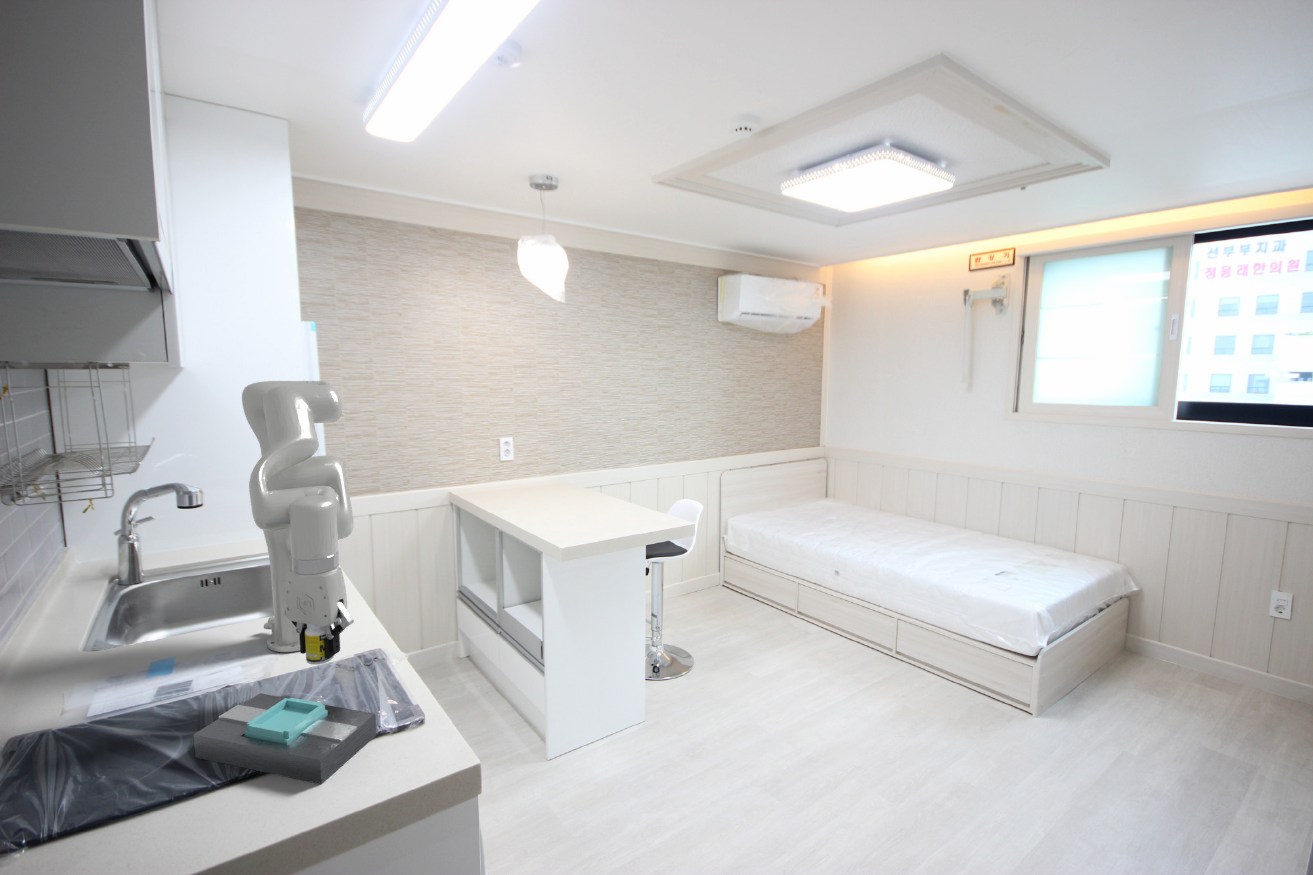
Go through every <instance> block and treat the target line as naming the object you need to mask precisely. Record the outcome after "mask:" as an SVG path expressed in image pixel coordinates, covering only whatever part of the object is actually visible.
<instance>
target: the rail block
mask: <svg viewBox="0 0 1313 875" xmlns="http://www.w3.org/2000/svg"><path fill="white" fill-rule="evenodd" d="M285 698H287V699H290V697H289V698H288V697H282V696H277V695H273V694H265V693H259V694H257V695H255V696H254V697H252V698H250V699H249V700H247V701H245V702H243V703H242V704H237V705H235V706H234V707H231V708H230V709H229V710H227V711H225V712H223V713H222V714H221V715H219V716H218V718H217V719H216V720H215V721H212V722H211V723H210V724H208V725H207V726H205V727H203V728H202V729H200V730H198V731H196V732H195V733H193V745H194V754H195V758H196V759H201V760H206V761H211V762H215V763H219V764H225V765H230V766H233V767H239V768H244V769H247V770H248V769H249V770H253V771H258V772H263V773H268V774H272V775H276V776H280V777H286V778H291V779H294V780H295V779H296V780H300V781H304V782H305V781H306V782H309V783H315V784H320V785H322V784H324V783H325V782H326V781H327V780H328V779H329V778H330V777H331V776H333V775H334V774H335V773H336V772H337V771H339V769H341V768H342V767H343V766H344V765H345V764H346V763H347V762H349V761H350V760H351V759H352V758H353V757H355V755H357V753H359V752H360V751H361V750H362V749H363V748H364V747H366V745H367V744H369V743H370V742H371V741H372V740H373V739H374V738H375V737H377V719H376V713H373V712H369V711H363V710H357V709H351V708H346V707H340V706H334V705H328V704H323V705H325V710H327V711H328V715H327V716H326V717H324V718H323V719H322V720H319V719H318V720H317V721H316V722H314V723H313V724H312V725H310V726H309V727H308V728H306V729H305V730H304V731H302V732H301V734H302V735H300V736H299V737H298V738H296V739H295V740H294V741H292V742H291V743H290V744H288V745H282V744H277V743H272V742H267V741H262V740H257V739H252V738H247V737H245V734H244V732H245V731H247V723H248V722H250V721H251V720H253V719H254V718H256V717H257V716H259V715H260V714H262V713H263V712H265V711H266V710H268V709H269V708H271V707H273V706H274V705H276V704H277V703H279V702H280V701H282V700H283V699H285Z"/></svg>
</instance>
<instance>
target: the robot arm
mask: <svg viewBox="0 0 1313 875" xmlns="http://www.w3.org/2000/svg"><path fill="white" fill-rule="evenodd" d="M241 402H242V403H241V404H242V409H243V413H244V416H245V419H246V421H247V423H248V425H249V427H250V429H251V430H252V432H253V434H254V436H255V438H256V440H257V441H258V444H259V448H260V455H261V456H260V458H259V459H258V461H257V462H256V464H255V465H254V466H253V469H252V470H251V473H250V477H249V482H248V488H249V489H248V490H249V499H250V505H251V506H250V507H251V512H252V514H251V515H252V517H253V521H254V523H255V525H256V527H257V528H259V529H260V530H262V532H263V535H264V539H265V543H266V548H267V552H268V558H269V566H270V578H271V579H270V580H271V592H272V593H271V594H272V607H273V608H272V609H273V616H272V615H271V616H270V617H269V618H268V620H267V622H265V623H264V624H263V629H265V630H271V635H270V636H269V637H268V639H267V643H266V644H267V647H268V649H269V650H270V651H272V652H277V653H278V652H279V653H294V652H300V654H302V655H304V654H306V643H305V630H306V629H307V624H309V625H315V626H321V627H324V629H325V633H326V636H327V638H326V639H324V651H325V658H327V659H329V658H331V657H332V656H334V657H335V655H336V654H338V653H339V652H340V651H341V637H340V634H341V633H342V632H344V631H345V629H347V627H349V626H351V625H352V624H354V623H355V622H354V621H355V620H354V618H353V617H352V615H351V614H350V612H349V611H348V598H347V596H348V595H347V589H346V582H345V579H344V575H343V571H342V568H341V567H340V558H339V540H344V539H345V538H348V537H349V536H350V535H351V534H352V533H353V530H354V517H353V516H354V515H353V509H352V508H353V507H352V503H351V497H350V491H349V485H348V480H347V474H346V473H347V472H346V470H345V467H344V466H345V465H343V464H344V463H342V461H341V459H339V458H338V457H337V456H333V455H318V456H317V455H316V456H315V454H316V453H317V451H318V450H319V446H320V444H319V439H318V435H317V430H316V427H315V426H316V425H315V424H323V423H324V424H325V423H329V424H330V423H335V422H338V421H339V420H340V418H341V416H342V413H343V405H342V404H343V403H342V399H341V396H340V393H339V392H338V390H337V389H336V387H335V386H333V385H332V384H331V383H329V382H327V381H323V380H267V381H258V382H253V383H250V384H248V385H247V386H245V387H244V388H243V390H242V392H241ZM331 625H333V627H334V629H333V630H332V626H331Z"/></svg>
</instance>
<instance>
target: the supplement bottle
mask: <svg viewBox="0 0 1313 875" xmlns="http://www.w3.org/2000/svg"><path fill="white" fill-rule="evenodd" d="M331 626H332V630H333V629H334V628H335V627H334V624H332V625H331ZM326 638H327V636H326V633H325V629H324V627H321V626H315V625H309V624H307V629H306V630H305V643H306V653H305V658H306V659H305V660H306V663H307V664H309V665H315V666H316V665H323V664H326V663H329V662H330V661H332V659H333V658H335V655H334V656H332V657H331V658H329V659H327V658H325V651H324V639H326Z"/></svg>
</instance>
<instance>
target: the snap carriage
mask: <svg viewBox="0 0 1313 875" xmlns="http://www.w3.org/2000/svg"><path fill="white" fill-rule="evenodd" d="M284 698H285V699H283V700H282V701H280V702H279V703H277V704H276V705H274V706H273V707H271V708H269V709H268V710H266V711H265V712H263V713H262V714H260V715H259V716H257V717H256V718H254V719H253V720H251V721H250V722H248V723H247V731H245V732H244V734H245V737H247V738H252V739H257V740H262V741H267V742H272V743H277V744H282V745H288V744H290V743H291V742H292V741H294V740H295V739H296V738H298V737H299V736H300V735H302V734H301V732H302V731H304V730H305V729H306V728H308V727H309V726H310V725H312V724H313V723H314V722H316V721H317V720H318V719H319V720H322V719H323V718H324V717H326V716H327V715H328V711H327V710H325V705H326V704H324V705H323V703H322V702H318V701H312V700H305V699H301V698H295V697H289V699H287V698H288V697H284Z"/></svg>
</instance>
